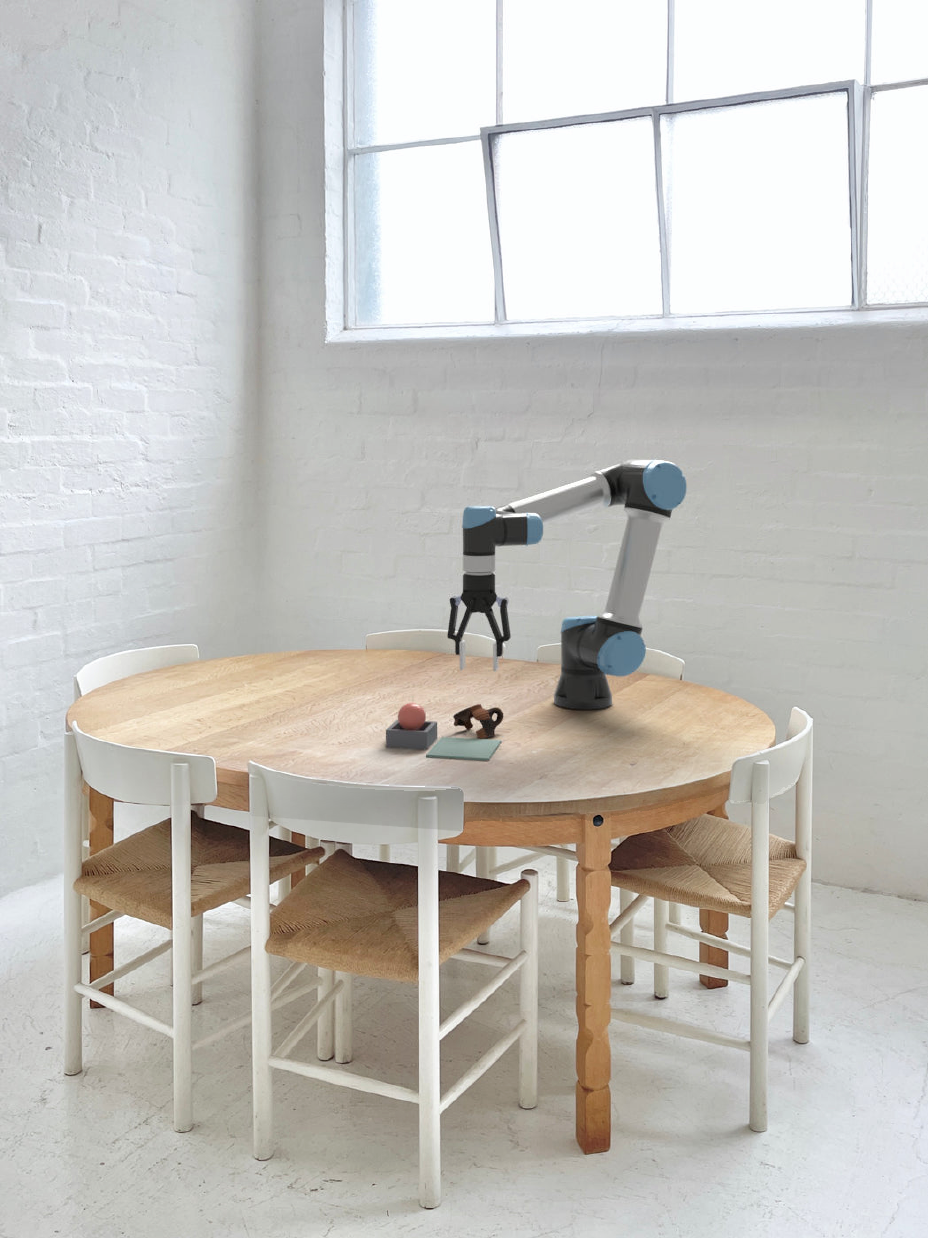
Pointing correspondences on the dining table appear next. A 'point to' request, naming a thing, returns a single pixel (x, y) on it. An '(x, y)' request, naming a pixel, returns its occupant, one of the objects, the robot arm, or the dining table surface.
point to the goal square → (464, 748)
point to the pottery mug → (479, 719)
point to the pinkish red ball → (411, 716)
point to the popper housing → (411, 736)
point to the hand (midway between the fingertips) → (478, 669)
